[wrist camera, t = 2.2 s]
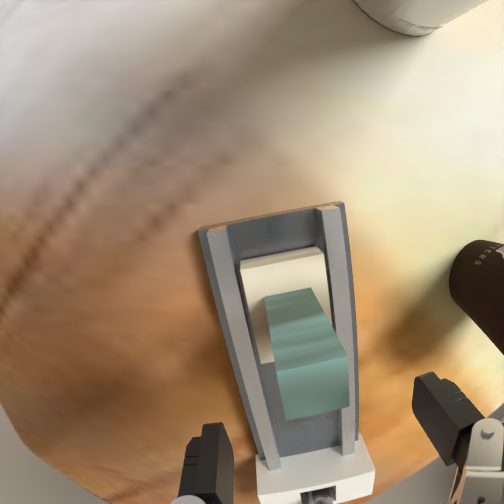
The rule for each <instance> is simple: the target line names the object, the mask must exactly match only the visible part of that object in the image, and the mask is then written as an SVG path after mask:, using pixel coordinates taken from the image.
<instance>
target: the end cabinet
mask: <svg viewBox="0 0 504 504" xmlns="http://www.w3.org/2000/svg"><path fill="white" fill-rule="evenodd" d="M255 455H256V474H257V494H258V498H259V500H260V502H261V504H307V500H306V494H305V492H308V491H313V490H318V489H322V488H327V487H329V488H330V492H331V496H332V500H333V504H337V503H341V502H345V501H349V500H353V499H356V498H360V497H363V496H367V495H370V494H372V490H373V483H374V477H375V468H374V466H373V463H372V461H371V458H370V456H369V453H368V451H367V448H366V446H365V443H364V441H363V438H362V436H361V433H358V440H357V441H355V453H354V454H350V455H346V456H342V452H341V449H340V446H335V447H330V448H326V449H322V450H317V451H313V452H308V453H303V454H298V455H292V456H287V457H281V466H282V469H280V470H274V471H269V467H268V464H267V461H266V460H262V461H261V460H260V457H259V454H255Z"/></svg>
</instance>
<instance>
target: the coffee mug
mask: <svg viewBox="0 0 504 504" xmlns="http://www.w3.org/2000/svg"><path fill="white" fill-rule="evenodd" d="M449 288H450V293H451V296H452V298H453V300H454V301H455V302H456V303H457V304H458V305H459V306H460V307H461V308H462V309H463V310H464V312H465V313H466V314H467V315H468V316H469V317H470V318H471V319H472V320H473V321H474V322H475V323H476V324H477V325H478V327H479V328H480V329H481V330H482V331H483V332H484V333H485V334H486V335H487V337H488V338H489V339H490V340H491V341H492V342H493V343H494V344H495V346H496V347H497V348H498V349H499V350H500V351H501V353H502V354H503V355H504V244H500V243H496V242H491V241H485V240H475V241H473V242H471V243H469V244H468V245H466V246H465V247H464V248H463V249H462V250H461V251H460V253H459V254H458V256H457V257H456V259H455V261H454V263H453V266H452V269H451V273H450V278H449Z"/></svg>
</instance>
